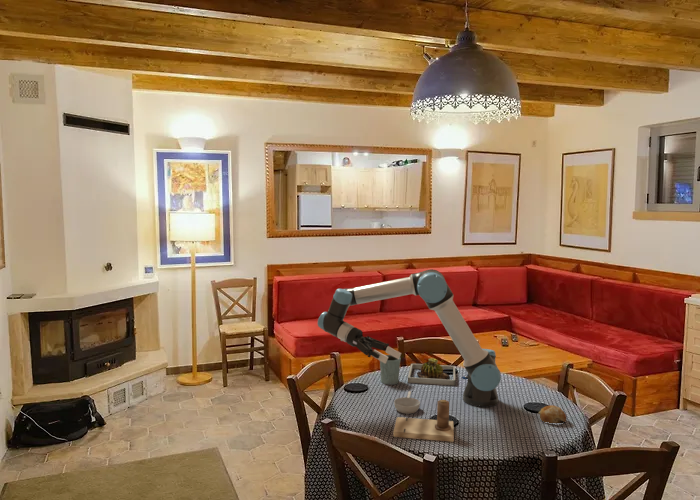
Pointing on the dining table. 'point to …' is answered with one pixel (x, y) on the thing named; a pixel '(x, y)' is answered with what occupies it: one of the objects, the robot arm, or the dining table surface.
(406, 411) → the saucepan
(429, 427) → the board
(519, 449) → the dining table surface
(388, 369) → the green cup
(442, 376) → the cactus
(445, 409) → the brown flanged cylinder
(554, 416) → the bread roll
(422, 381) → the plant tray
